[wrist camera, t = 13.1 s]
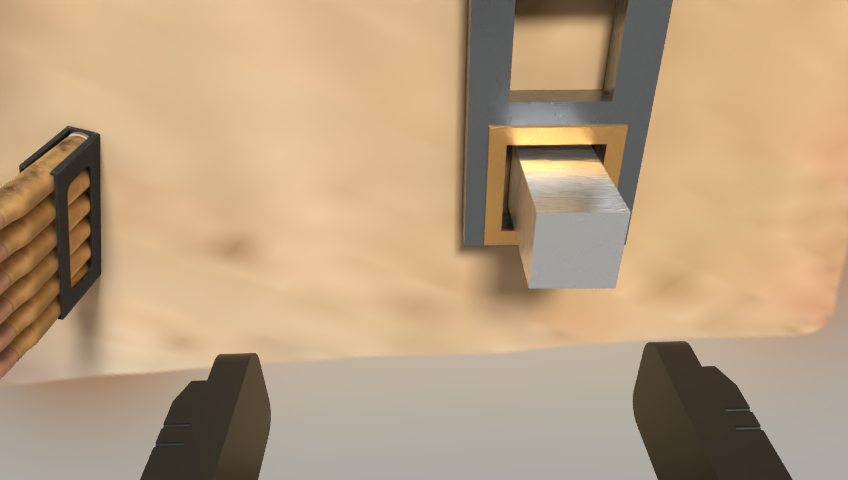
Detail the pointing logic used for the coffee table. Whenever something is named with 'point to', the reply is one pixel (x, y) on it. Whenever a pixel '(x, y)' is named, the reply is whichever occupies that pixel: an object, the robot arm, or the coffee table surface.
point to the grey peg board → (554, 109)
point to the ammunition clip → (48, 239)
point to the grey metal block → (566, 217)
